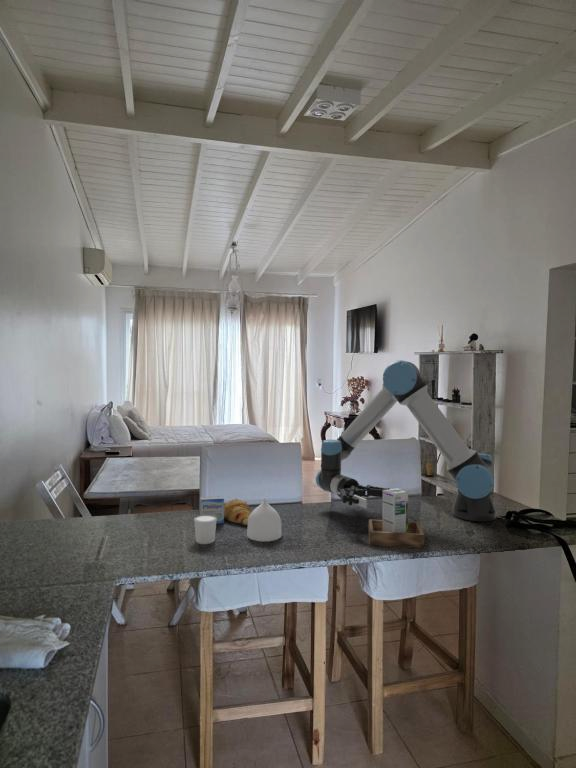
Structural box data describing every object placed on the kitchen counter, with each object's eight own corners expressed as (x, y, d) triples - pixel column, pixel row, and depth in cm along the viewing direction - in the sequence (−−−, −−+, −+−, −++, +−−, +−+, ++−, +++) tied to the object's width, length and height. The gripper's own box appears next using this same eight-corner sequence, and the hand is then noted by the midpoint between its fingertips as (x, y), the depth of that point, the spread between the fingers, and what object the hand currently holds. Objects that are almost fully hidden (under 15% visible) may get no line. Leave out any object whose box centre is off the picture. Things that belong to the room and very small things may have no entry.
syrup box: (393, 540, 154) (394, 493, 153) (381, 534, 159) (382, 489, 158) (408, 537, 156) (409, 491, 156) (395, 532, 161) (396, 487, 161)
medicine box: (200, 525, 169) (200, 499, 169) (199, 521, 173) (199, 496, 173) (224, 523, 171) (224, 498, 171) (222, 520, 175) (222, 495, 175)
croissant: (256, 536, 170) (266, 513, 171) (232, 526, 165) (243, 503, 166) (230, 518, 188) (240, 498, 189) (208, 508, 183) (218, 488, 185)
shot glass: (220, 538, 156) (220, 516, 156) (209, 546, 150) (210, 522, 149) (200, 536, 158) (200, 514, 158) (189, 543, 152) (189, 520, 152)
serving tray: (418, 534, 163) (418, 521, 163) (423, 548, 150) (424, 534, 150) (368, 531, 165) (368, 519, 165) (369, 545, 152) (370, 531, 152)
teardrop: (265, 527, 167) (266, 492, 167) (288, 536, 160) (289, 498, 159) (239, 535, 160) (240, 497, 159) (262, 544, 152) (263, 504, 152)
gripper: (373, 494, 187) (412, 508, 168) (315, 501, 175) (351, 518, 156) (373, 473, 187) (412, 486, 168) (315, 480, 175) (351, 494, 156)
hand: (383, 501), depth 162 cm, fingers open, 13 cm apart
